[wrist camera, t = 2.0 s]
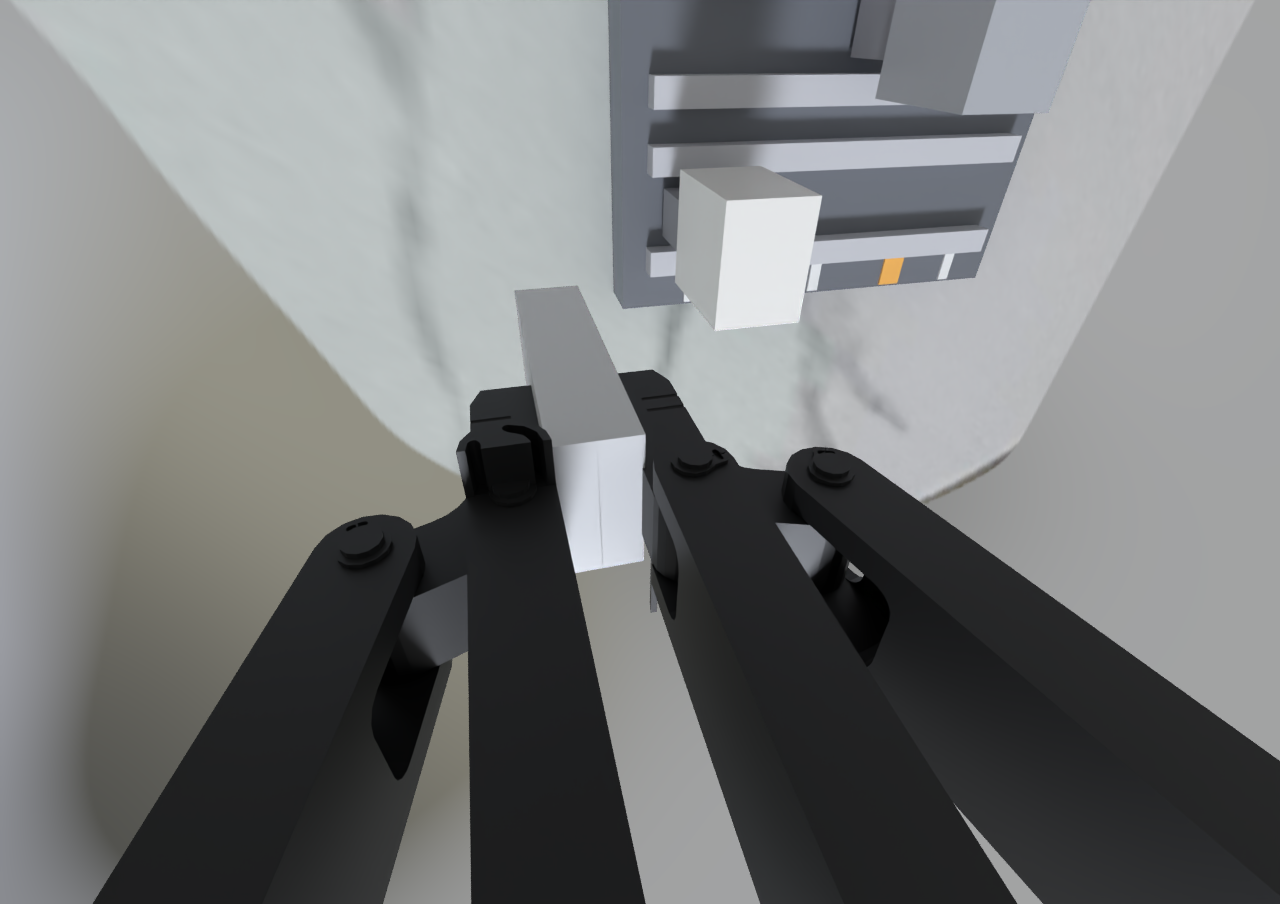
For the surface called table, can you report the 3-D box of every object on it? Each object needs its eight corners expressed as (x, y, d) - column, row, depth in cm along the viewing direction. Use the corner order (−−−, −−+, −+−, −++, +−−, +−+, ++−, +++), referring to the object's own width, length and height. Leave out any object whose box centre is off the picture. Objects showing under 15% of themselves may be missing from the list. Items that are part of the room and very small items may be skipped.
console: (605, -132, 18) (625, -152, 16) (1069, -102, 22) (1135, -115, 20) (613, 292, 27) (627, 316, 25) (948, 264, 30) (986, 283, 28)
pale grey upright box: (867, -47, 20) (1017, -72, 14) (943, -44, 20) (1115, -67, 15) (841, 92, 22) (962, 114, 17) (910, 91, 23) (1048, 112, 17)
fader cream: (662, 157, 22) (726, 200, 16) (736, 154, 22) (822, 195, 17) (659, 263, 24) (714, 331, 19) (726, 258, 25) (798, 322, 19)
